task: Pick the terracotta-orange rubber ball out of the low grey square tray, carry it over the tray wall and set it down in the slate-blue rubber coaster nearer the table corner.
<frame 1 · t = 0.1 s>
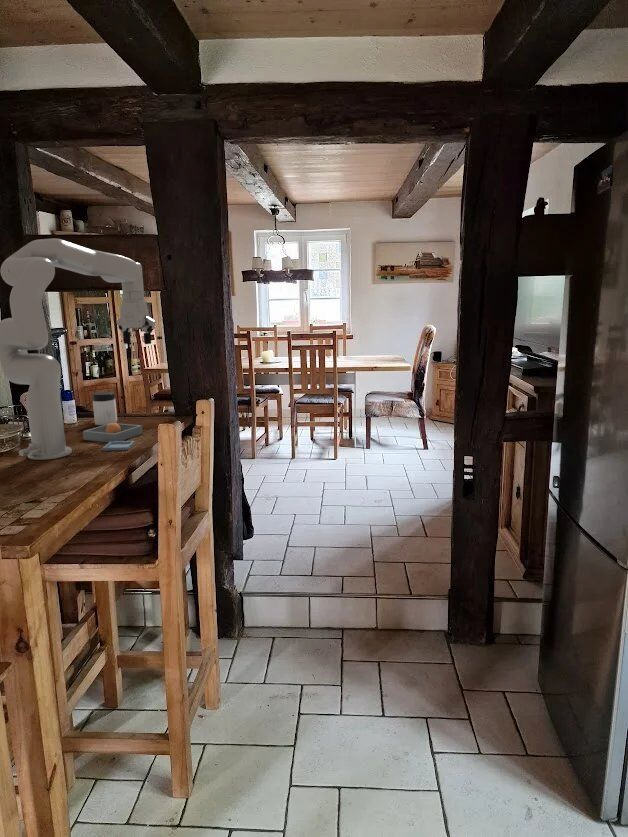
hand: (137, 343, 209), 31 cm above the table, fingers open, 9 cm apart
ball: (113, 429, 197), in the grey square tray
grey square tray: (113, 436, 197), on the table
jar: (106, 423, 219), on the table
coaster: (118, 447, 183), on the table
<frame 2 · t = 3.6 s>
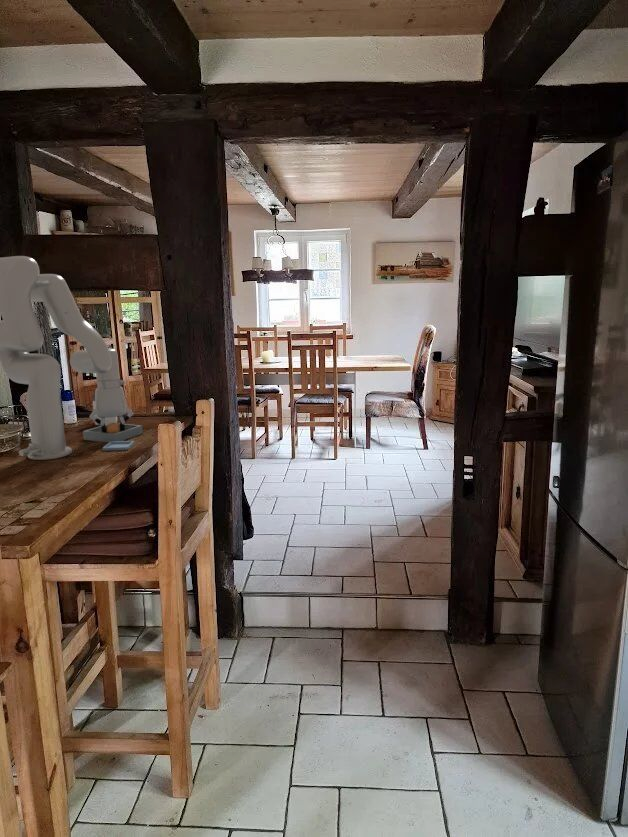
hand: (113, 434, 197), 1 cm above the table, fingers closed on ball, 4 cm apart
ball: (113, 429, 197), in the grey square tray, touching gripper
everything else where it was.
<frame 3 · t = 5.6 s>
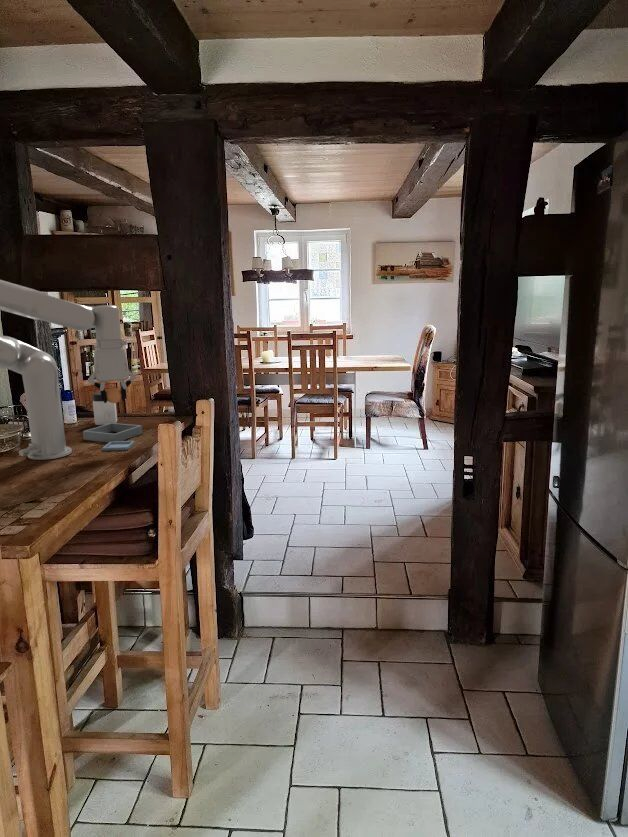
hand: (114, 401, 180), 15 cm above the table, fingers closed on ball, 4 cm apart
ball: (113, 395, 180), point 17 cm above the table, touching gripper
everything else where it was.
when the fingers open (2 cm above the table, at t = 8.0 s): ball drops 1 cm, resting on coaster.
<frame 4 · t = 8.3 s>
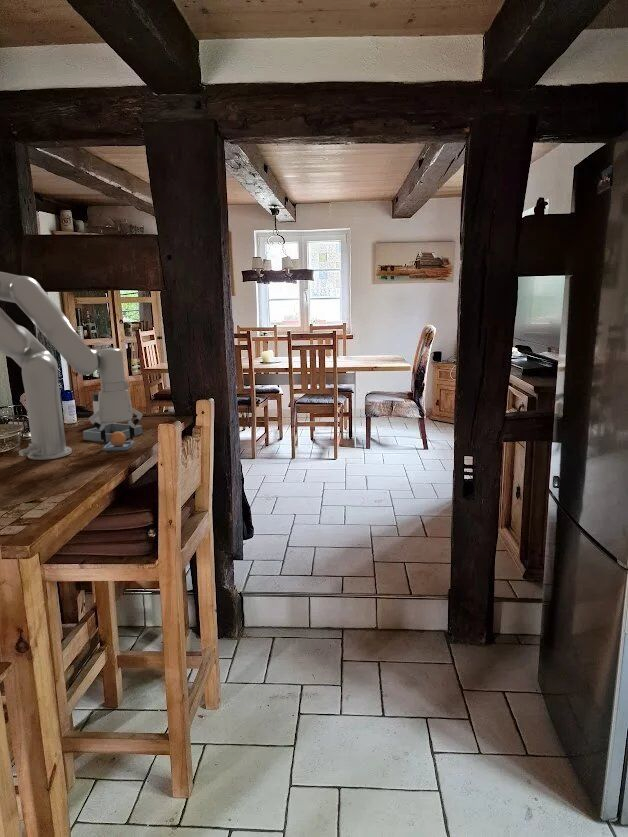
hand: (118, 439, 182), 3 cm above the table, fingers open, 7 cm apart
ball: (118, 439, 182), resting on coaster
everything else where it was.
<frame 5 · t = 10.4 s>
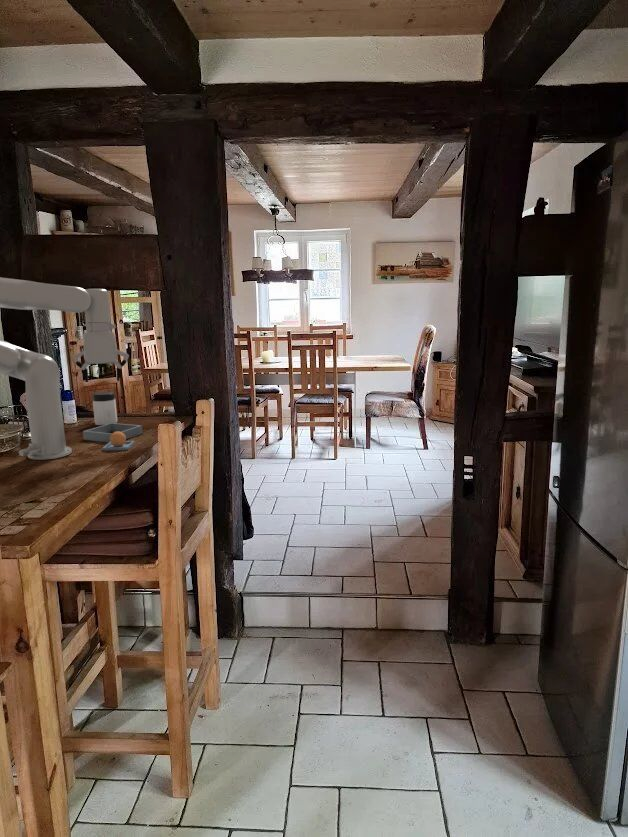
hand: (102, 381, 182), 21 cm above the table, fingers open, 9 cm apart
nothing on the table moved.
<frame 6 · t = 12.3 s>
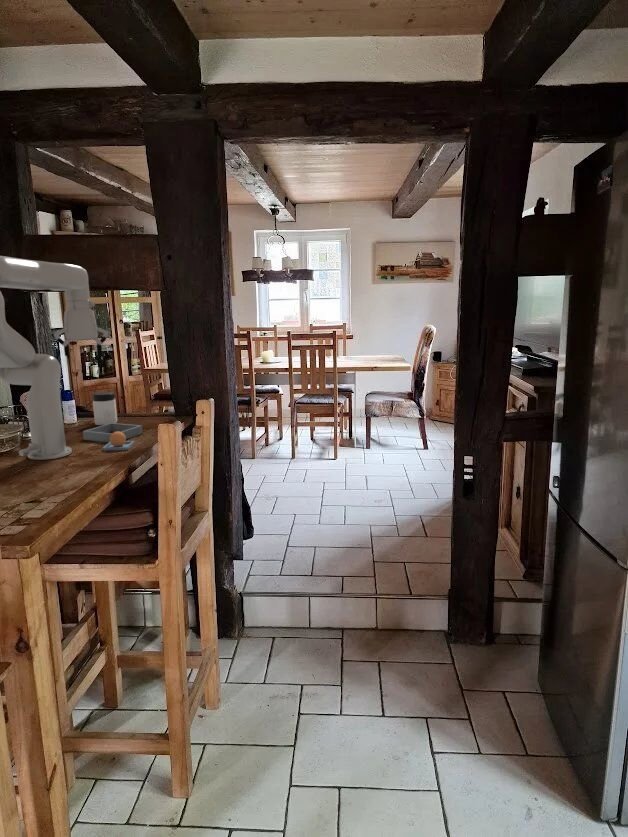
hand: (84, 357, 190), 28 cm above the table, fingers open, 9 cm apart
nothing on the table moved.
at the end: ball 0.1 cm from the coaster (horizontally); ball resting on coaster; the gripper is holding nothing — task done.
